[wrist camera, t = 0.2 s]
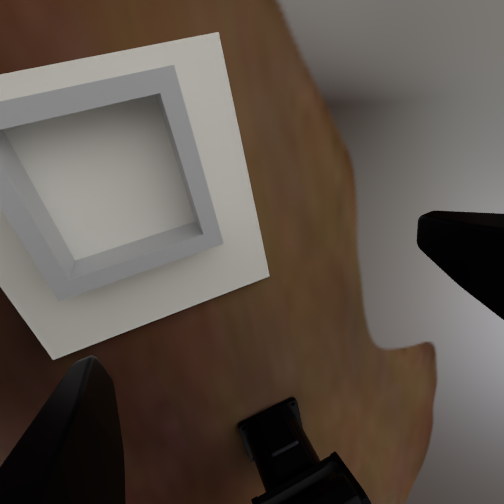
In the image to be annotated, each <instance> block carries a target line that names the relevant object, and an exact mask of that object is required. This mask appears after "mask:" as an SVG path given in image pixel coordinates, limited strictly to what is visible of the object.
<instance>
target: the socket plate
mask: <svg viewBox="0 0 504 504" xmlns="http://www.w3.org/2000/svg"><path fill="white" fill-rule="evenodd" d="M269 276H270V275H269V271H268V266H267V261H266V256H265V252H264V247H263V242H262V237H261V233H260V228H259V223H258V218H257V213H256V209H255V204H254V199H253V194H252V190H251V185H250V180H249V175H248V171H247V166H246V161H245V156H244V151H243V147H242V142H241V137H240V132H239V128H238V123H237V118H236V113H235V109H234V104H233V99H232V94H231V89H230V85H229V80H228V75H227V70H226V66H225V61H224V56H223V51H222V47H221V42H220V37H219V32H216V33H211V34H206V35H201V36H196V37H191V38H185V39H180V40H175V41H170V42H165V43H160V44H155V45H149V46H144V47H139V48H134V49H129V50H124V51H119V52H114V53H108V54H103V55H98V56H93V57H88V58H83V59H78V60H72V61H67V62H62V63H57V64H52V65H47V66H42V67H36V68H31V69H26V70H21V71H16V72H11V73H6V74H1V75H0V287H1V288H2V290H3V291H4V293H5V294H6V295H7V297H8V298H9V299H10V301H11V302H12V304H13V305H14V306H15V308H16V309H17V311H18V312H19V313H20V315H21V316H22V318H23V319H24V320H25V322H26V323H27V324H28V326H29V327H30V329H31V330H32V331H33V333H34V334H35V336H36V337H37V338H38V340H39V341H40V343H41V344H42V345H43V347H44V348H45V349H46V351H47V352H48V354H49V355H50V356H51V358H52V359H53V360H54V359H57V358H60V357H62V356H65V355H67V354H70V353H73V352H75V351H78V350H80V349H83V348H85V347H88V346H91V345H93V344H96V343H98V342H101V341H104V340H106V339H109V338H111V337H114V336H116V335H119V334H122V333H124V332H127V331H129V330H132V329H135V328H137V327H140V326H142V325H145V324H147V323H150V322H153V321H155V320H158V319H160V318H163V317H166V316H168V315H171V314H173V313H176V312H178V311H181V310H184V309H186V308H189V307H191V306H194V305H197V304H199V303H202V302H204V301H207V300H209V299H212V298H215V297H217V296H220V295H222V294H225V293H228V292H230V291H233V290H235V289H238V288H240V287H243V286H246V285H248V284H251V283H253V282H256V281H259V280H261V279H264V278H266V277H269Z"/></svg>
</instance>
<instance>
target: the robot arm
mask: <svg viewBox="0 0 504 504" xmlns="http://www.w3.org/2000/svg"><path fill="white" fill-rule="evenodd" d="M417 244H418V247H419V248H420V249H421V250H422V251H423V252H424V253H425V254H426V255H427V256H428V257H429V258H430V259H431V260H432V261H433V262H435V263H436V264H437V265H438V266H439V267H440V268H441V269H442V270H443V271H444V272H445V273H446V274H447V275H448V276H450V277H451V278H452V279H453V280H454V281H455V282H456V283H457V284H458V285H460V286H461V287H462V288H463V289H464V290H466V291H467V292H468V293H470V294H471V295H472V296H473V297H475V298H476V299H477V300H479V301H480V302H481V303H483V304H484V305H485V306H486V307H488V308H489V309H490V310H492V311H493V312H494V313H496V314H497V315H498V316H499V317H501V318H502V319H503V320H504V214H495V213H475V212H453V211H431V212H429V213H426V214H424V215H422V216H420V218H419V220H418V229H417ZM238 429H239V432H240V434H241V437H242V440H243V442H244V445H245V448H246V450H247V453H248V456H249V458H250V461H251V462H254V461H255V463H256V466H257V469H258V472H259V474H260V477H261V480H262V482H263V485H264V488H265V491H266V493H264V494H262V495H261V496H259V497H257V496H256V497H255V498H253V499H251V500H252V504H371V502H370V500H369V498H368V497H367V495H366V493H365V492H364V490H363V489H362V487H361V486H360V484H359V483H358V482H357V480H356V479H355V478H354V476H353V475H352V473H351V472H350V471H349V469H348V468H347V467H346V465H345V464H344V462H343V461H342V460H341V458H340V457H339V456H338V454H337V453H336V452H333V453H332V454H330V456H329V457H327V458H325V459H323V460H322V461H320V459H319V457H318V455H317V454H316V452H315V450H314V448H313V446H312V445H311V443H310V441H309V439H308V437H307V436H306V434H305V432H304V430H303V427H302V423H301V418H300V413H299V408H298V403H297V401H296V399H295V398H294V397H292V398H290V399H288V400H286V401H283V402H281V403H279V404H277V405H275V406H273V407H271V408H269V409H267V410H265V411H263V412H261V413H259V414H257V415H255V416H253V417H251V418H249V419H246V420H244V421H242V422H241V423H239V424H238ZM0 504H126V503H125V469H124V450H123V442H122V435H121V428H120V421H119V415H118V408H117V401H116V395H115V388H114V384H113V381H112V379H111V377H110V375H109V374H108V373H107V371H106V370H105V369H104V367H103V366H102V364H101V363H100V362H99V360H98V359H97V358H96V357H95V356H89V357H86V358H84V359H81V360H79V361H77V362H75V363H74V364H73V365H72V366H71V367H70V369H69V370H68V372H67V373H66V375H65V376H64V377H63V379H62V380H61V382H60V383H59V384H58V386H57V387H56V389H55V390H54V392H53V393H52V394H51V396H50V397H49V399H48V400H47V401H46V403H45V404H44V406H43V407H42V409H41V410H40V411H39V413H38V414H37V416H36V417H35V418H34V420H33V421H32V423H31V424H30V426H29V427H28V428H27V430H26V431H25V433H24V434H23V436H22V437H21V438H20V440H19V441H18V443H17V444H16V445H15V447H14V448H13V450H12V451H11V453H10V454H9V455H8V457H7V458H6V460H5V461H4V462H3V464H2V465H1V467H0Z"/></svg>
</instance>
